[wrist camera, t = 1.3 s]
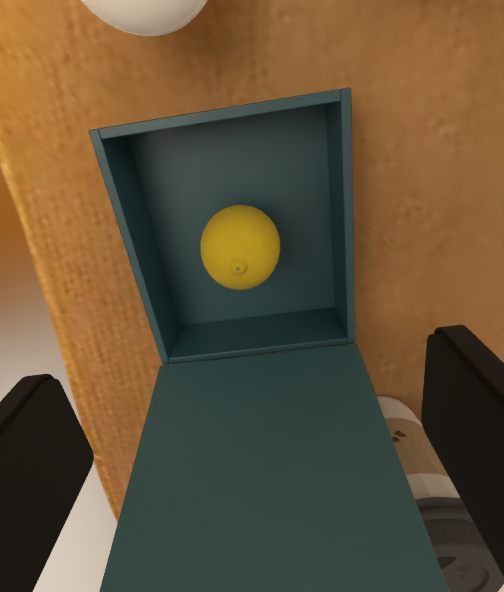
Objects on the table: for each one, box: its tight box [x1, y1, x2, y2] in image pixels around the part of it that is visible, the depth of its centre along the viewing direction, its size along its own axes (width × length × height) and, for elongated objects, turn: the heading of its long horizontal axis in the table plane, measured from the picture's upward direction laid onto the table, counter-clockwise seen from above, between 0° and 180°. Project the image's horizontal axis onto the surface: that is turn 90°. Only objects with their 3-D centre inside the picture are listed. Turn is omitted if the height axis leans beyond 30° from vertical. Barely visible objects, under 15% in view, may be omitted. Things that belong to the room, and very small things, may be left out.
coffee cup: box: [377, 396, 504, 592], centre depth 32 cm, size 11×11×15 cm
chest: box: [89, 88, 355, 365], centre depth 27 cm, size 17×15×6 cm
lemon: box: [200, 205, 280, 290], centre depth 25 cm, size 6×6×8 cm
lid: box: [100, 344, 449, 592], centre depth 20 cm, size 18×15×1 cm
